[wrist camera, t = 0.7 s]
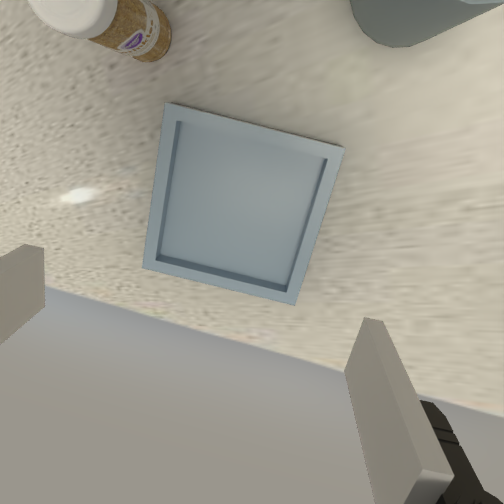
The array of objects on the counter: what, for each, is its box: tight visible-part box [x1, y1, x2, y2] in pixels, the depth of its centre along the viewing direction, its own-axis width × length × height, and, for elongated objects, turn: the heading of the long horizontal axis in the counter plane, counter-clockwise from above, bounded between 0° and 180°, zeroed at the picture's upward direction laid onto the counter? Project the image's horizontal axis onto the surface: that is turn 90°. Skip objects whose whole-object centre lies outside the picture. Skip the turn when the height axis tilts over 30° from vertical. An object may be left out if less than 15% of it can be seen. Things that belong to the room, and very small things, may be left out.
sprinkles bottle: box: [27, 0, 171, 62], centre depth 25 cm, size 5×5×14 cm
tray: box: [142, 102, 345, 306], centre depth 36 cm, size 16×16×2 cm
